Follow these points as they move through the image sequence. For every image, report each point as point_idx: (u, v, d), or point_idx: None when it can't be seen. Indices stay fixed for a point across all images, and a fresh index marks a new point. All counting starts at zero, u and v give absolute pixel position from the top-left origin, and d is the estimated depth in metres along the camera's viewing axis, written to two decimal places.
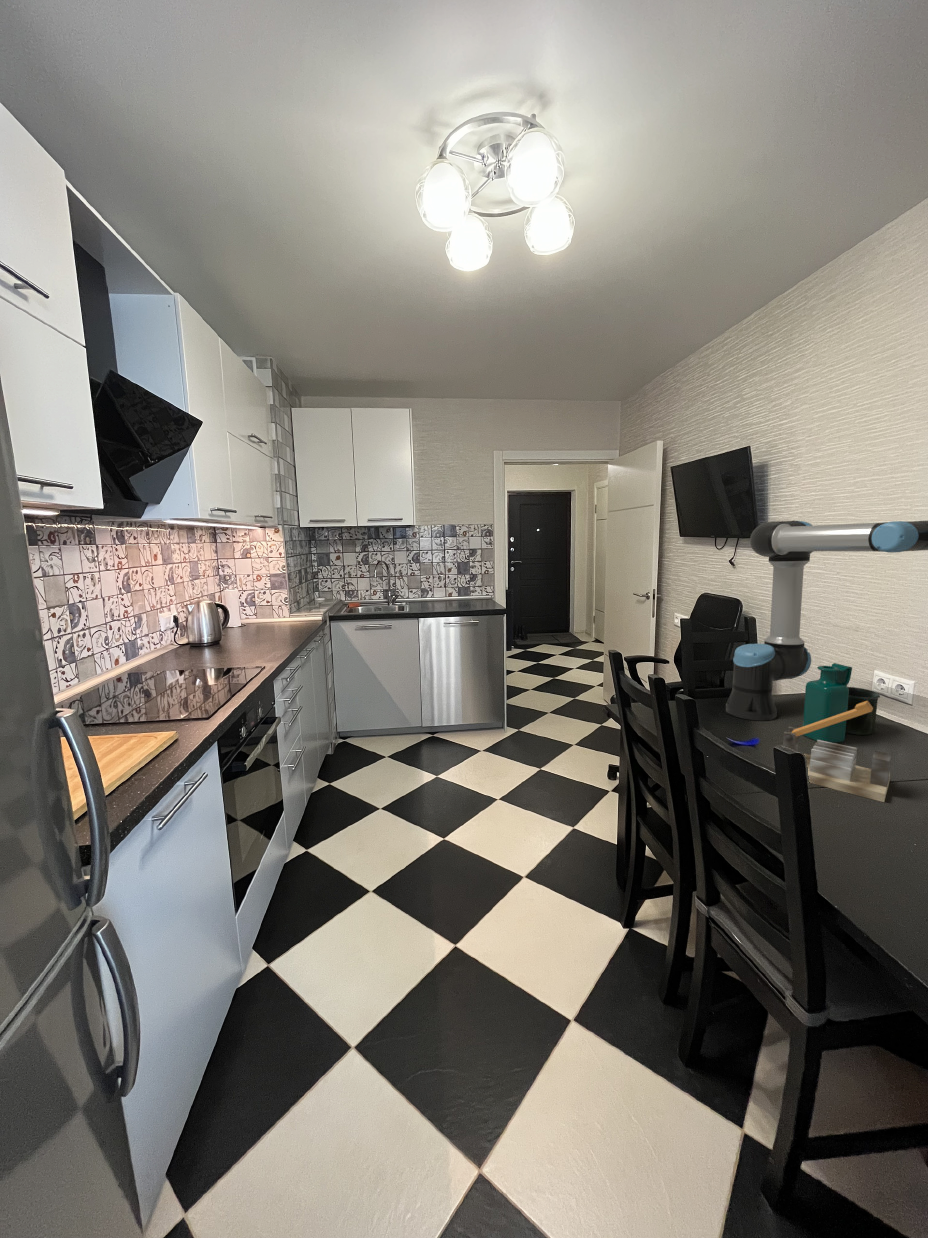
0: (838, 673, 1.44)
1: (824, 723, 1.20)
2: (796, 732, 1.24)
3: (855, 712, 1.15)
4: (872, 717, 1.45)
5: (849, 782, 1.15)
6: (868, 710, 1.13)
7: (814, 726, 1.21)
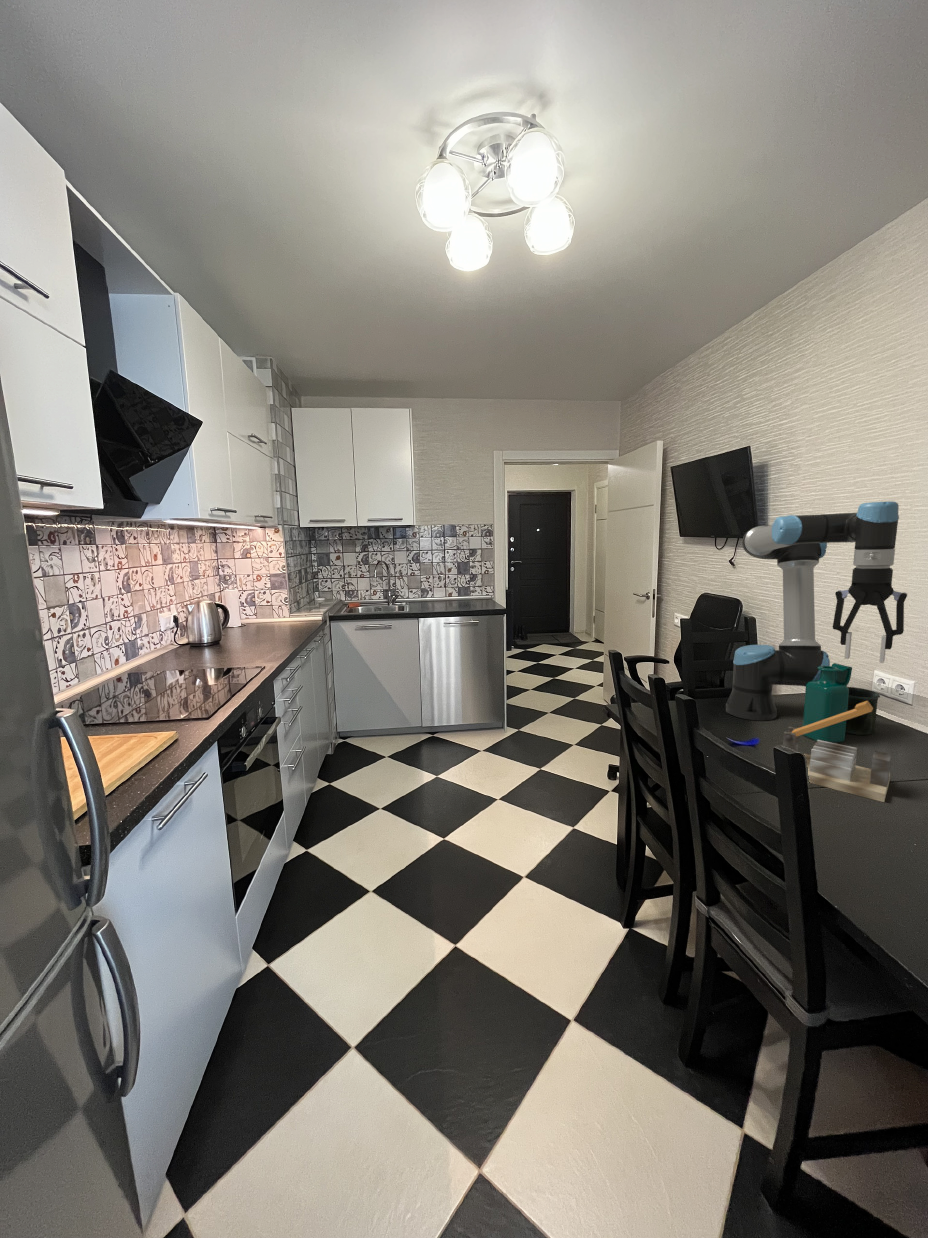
0: (838, 673, 1.44)
1: (824, 723, 1.20)
2: (796, 732, 1.24)
3: (855, 712, 1.15)
4: (872, 717, 1.45)
5: (849, 782, 1.15)
6: (868, 710, 1.13)
7: (814, 726, 1.21)
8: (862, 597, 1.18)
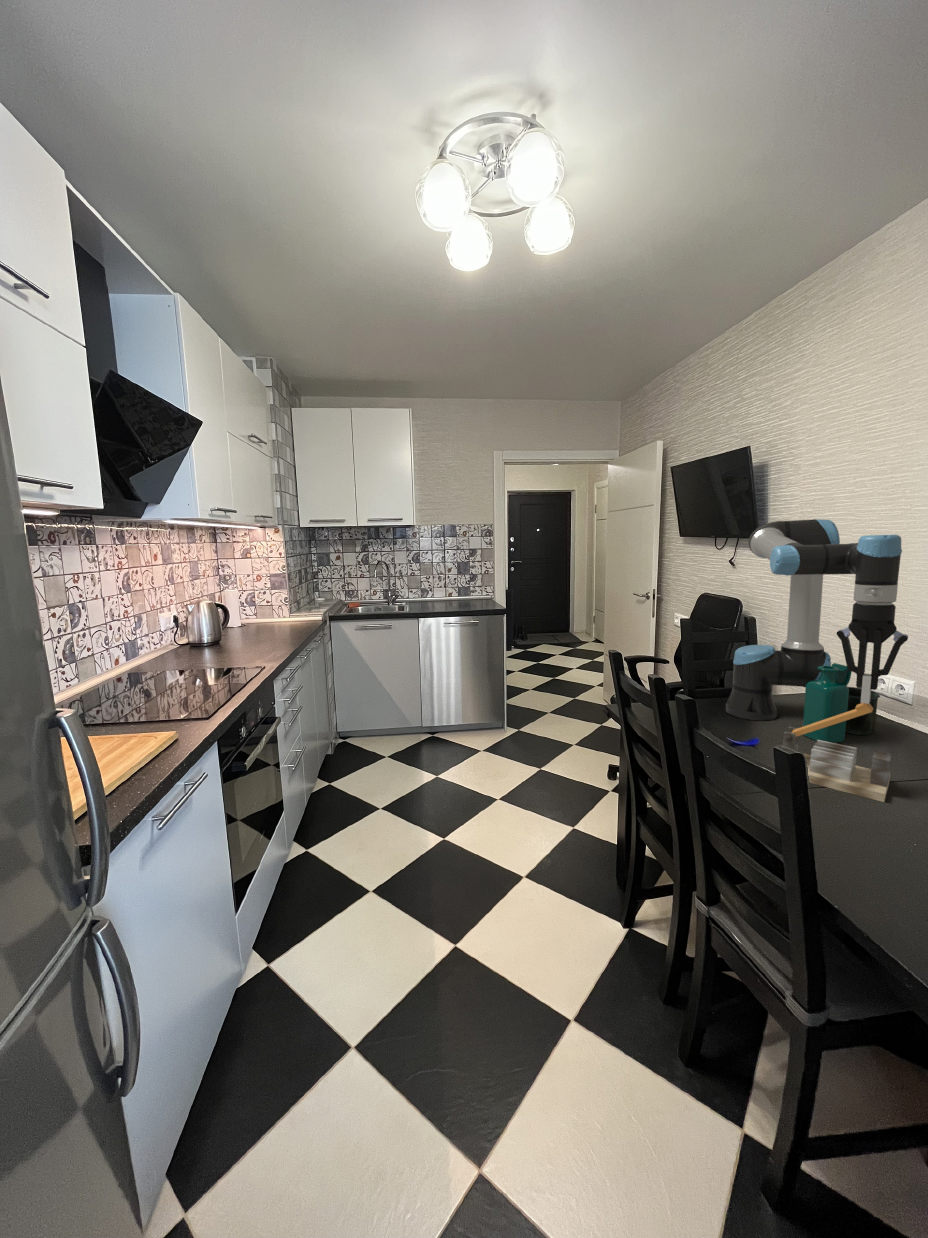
0: (838, 673, 1.44)
1: (824, 723, 1.20)
2: (796, 732, 1.24)
3: (855, 712, 1.15)
4: (872, 717, 1.45)
5: (849, 782, 1.15)
6: (868, 710, 1.13)
7: (814, 726, 1.21)
8: (865, 634, 1.12)
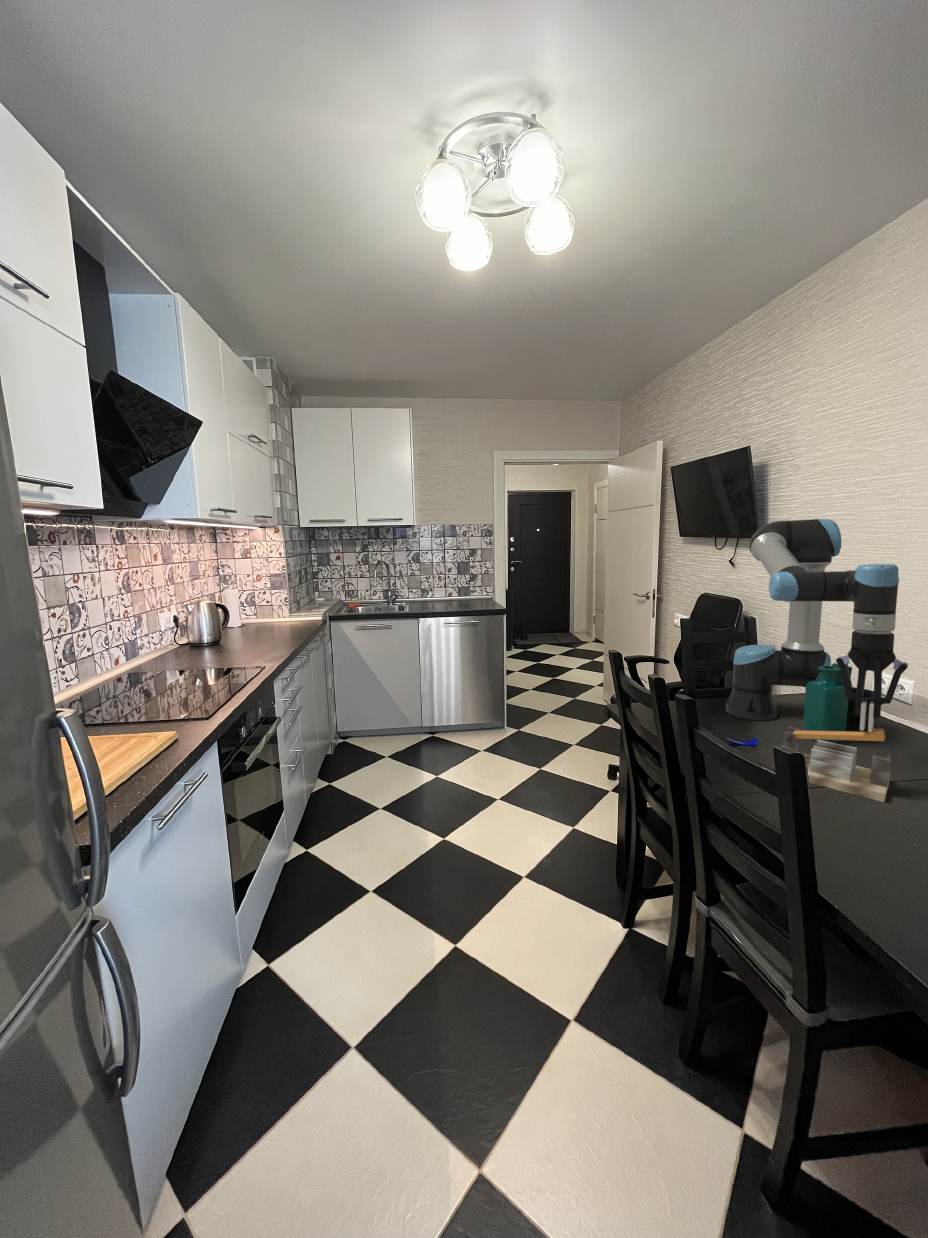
0: (838, 673, 1.44)
1: (830, 736, 1.19)
2: (798, 735, 1.24)
3: (867, 736, 1.14)
4: None
5: (849, 782, 1.15)
6: (881, 739, 1.12)
7: (819, 735, 1.21)
8: (864, 663, 1.12)
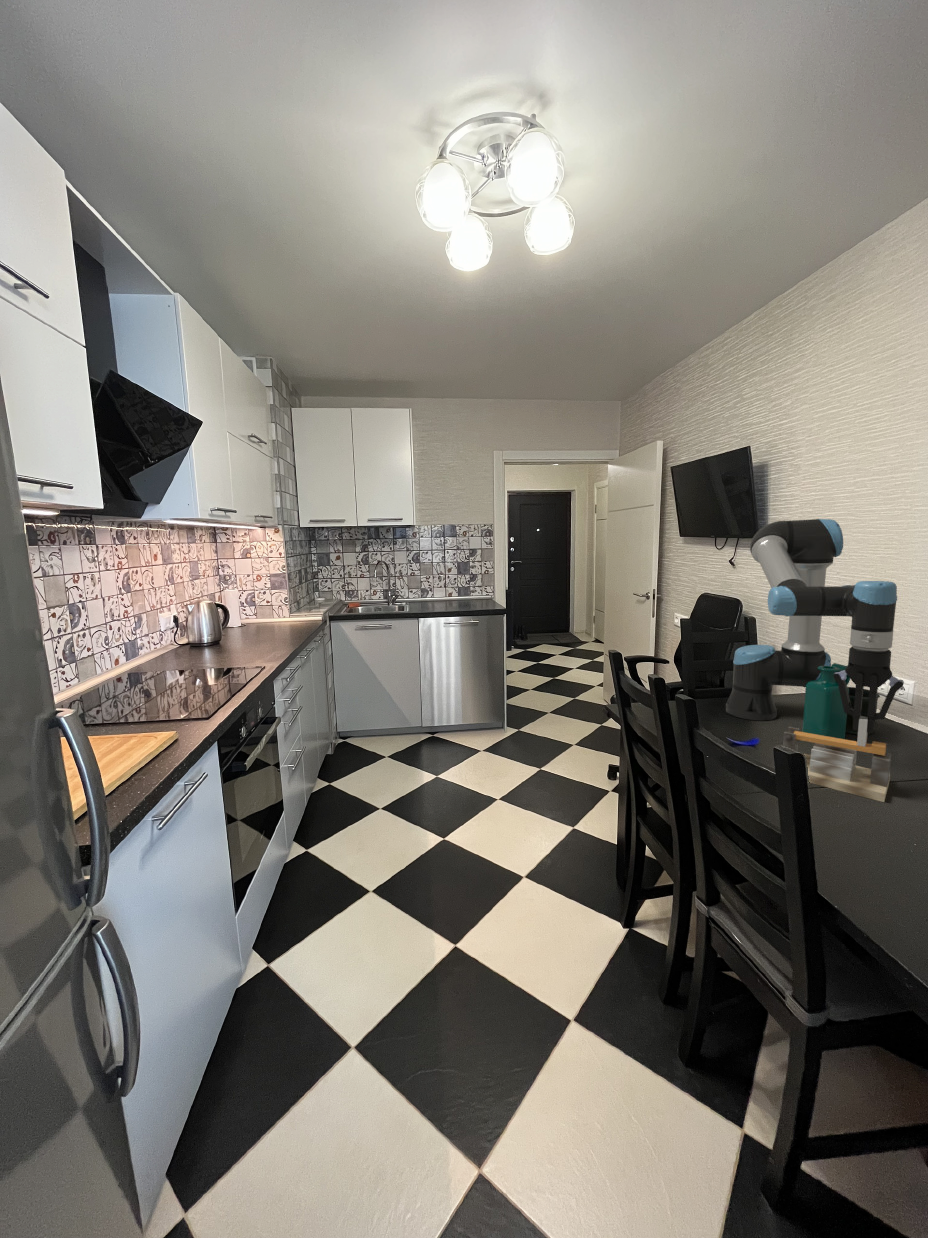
0: None
1: (831, 742, 1.19)
2: (798, 736, 1.24)
3: (868, 748, 1.14)
4: None
5: (849, 782, 1.15)
6: (882, 753, 1.13)
7: (819, 740, 1.21)
8: (861, 679, 1.13)
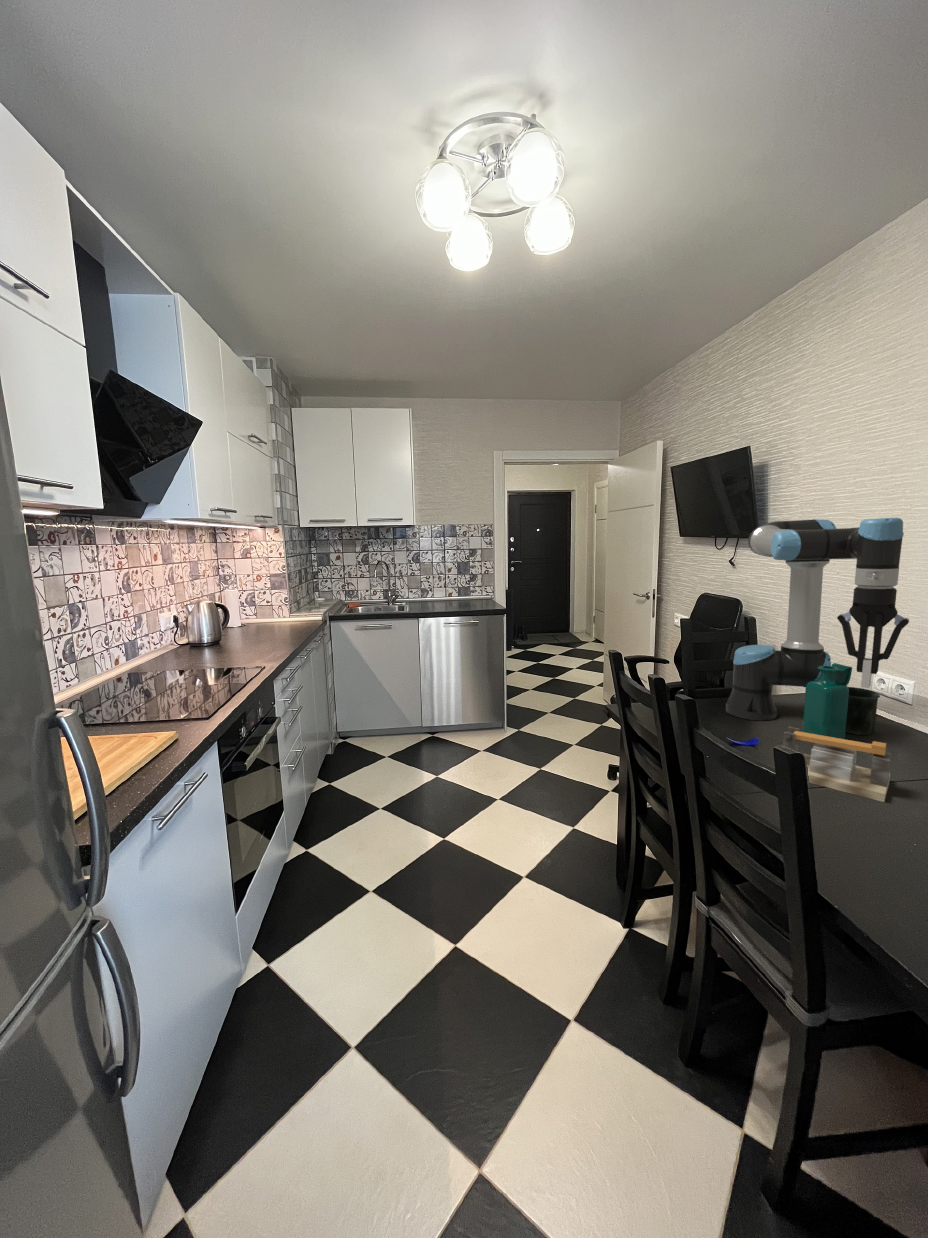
0: (838, 673, 1.44)
1: (831, 742, 1.19)
2: (798, 736, 1.24)
3: (868, 748, 1.14)
4: (872, 717, 1.45)
5: (849, 782, 1.15)
6: (882, 753, 1.13)
7: (819, 740, 1.21)
8: (865, 618, 1.11)
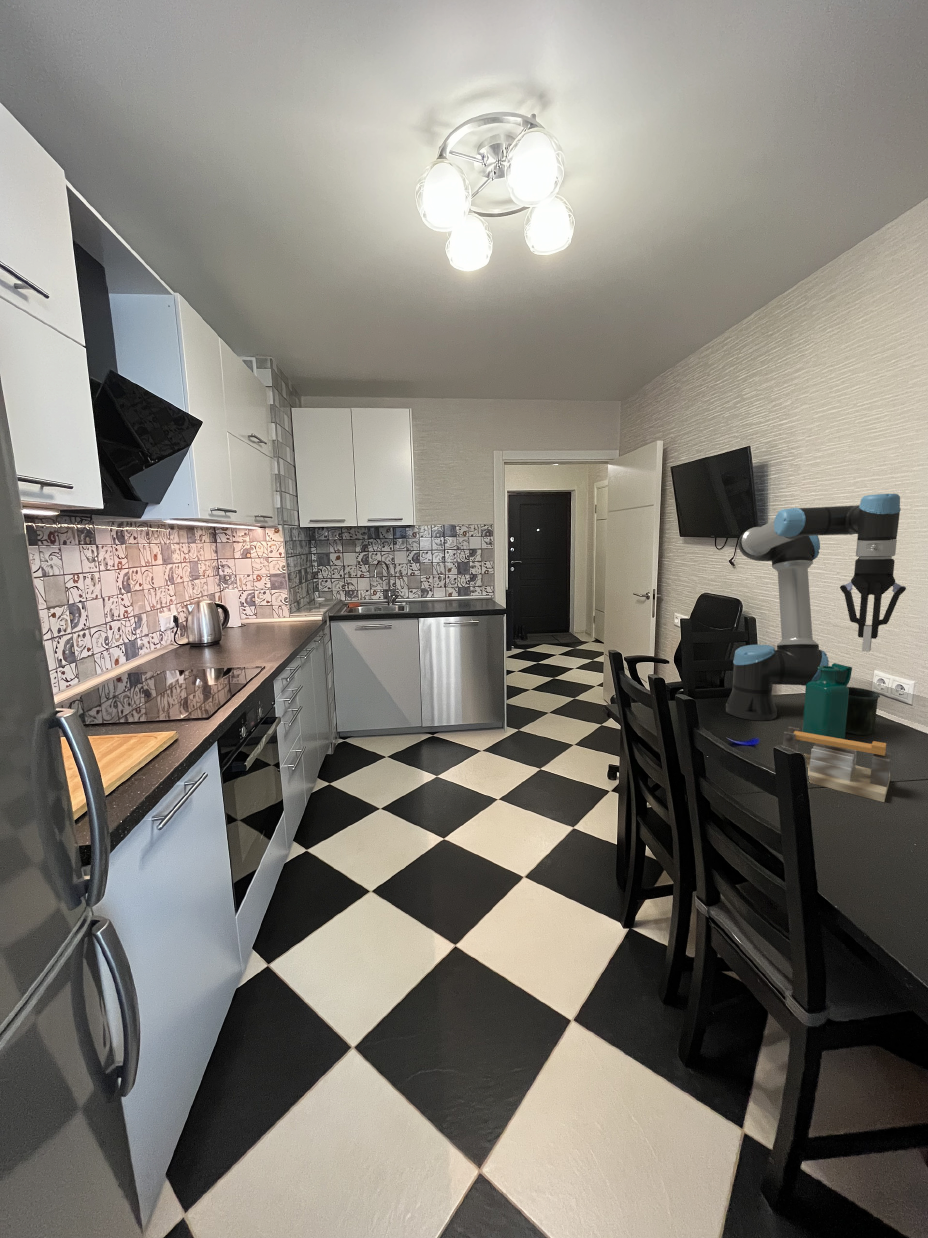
0: (838, 673, 1.44)
1: (831, 742, 1.19)
2: (798, 736, 1.24)
3: (868, 748, 1.14)
4: (872, 717, 1.45)
5: (849, 782, 1.15)
6: (882, 753, 1.13)
7: (819, 740, 1.21)
8: (866, 587, 1.21)
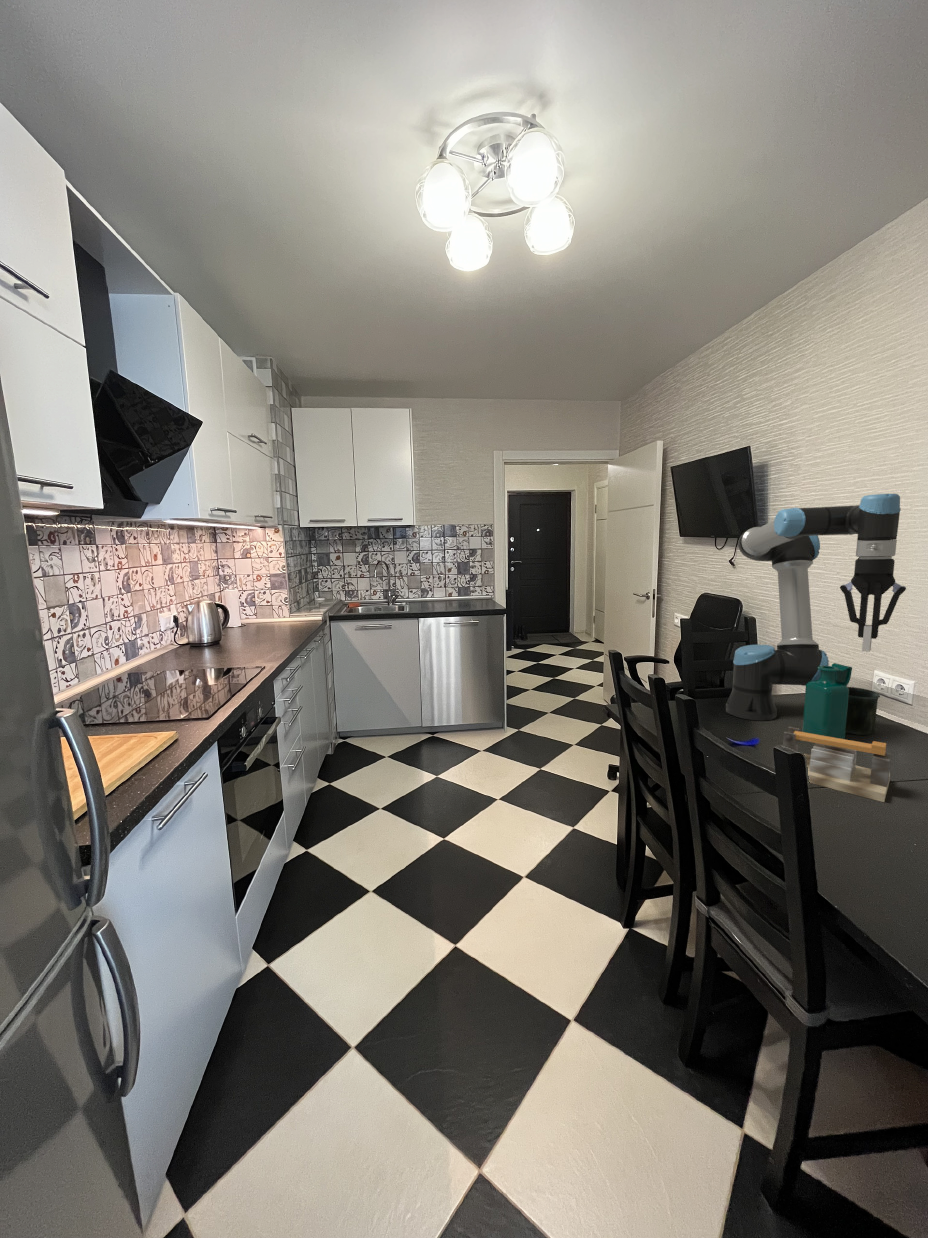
0: (838, 673, 1.44)
1: (831, 742, 1.19)
2: (798, 736, 1.24)
3: (868, 748, 1.14)
4: (872, 716, 1.45)
5: (849, 782, 1.15)
6: (882, 753, 1.13)
7: (819, 740, 1.21)
8: (866, 587, 1.21)
